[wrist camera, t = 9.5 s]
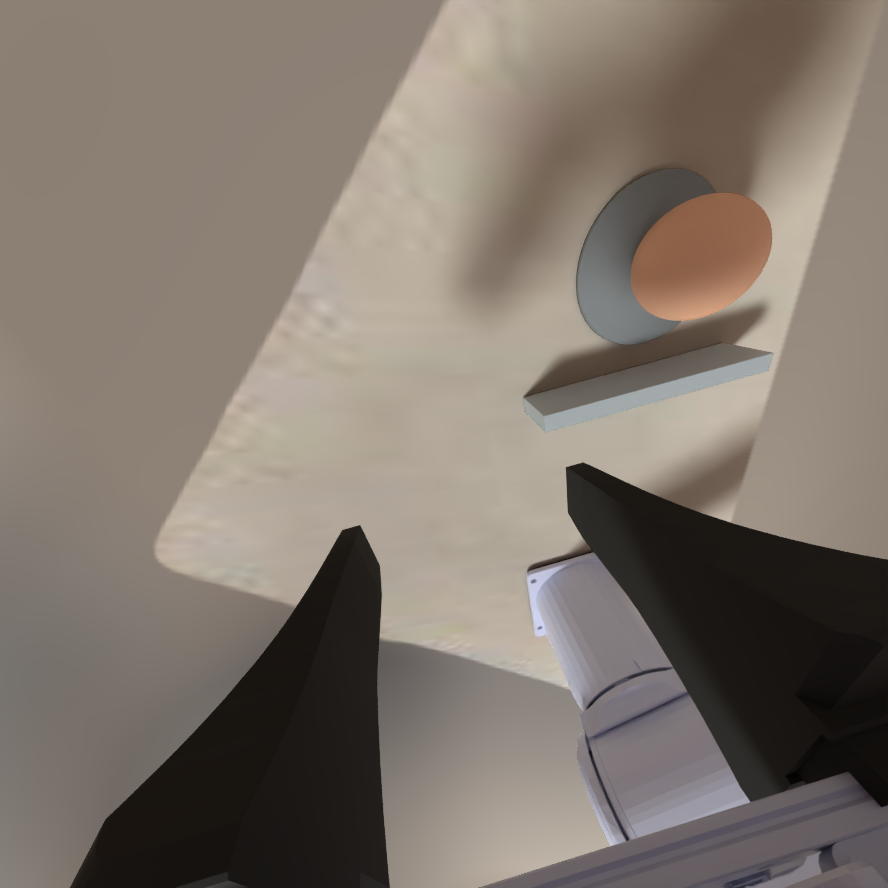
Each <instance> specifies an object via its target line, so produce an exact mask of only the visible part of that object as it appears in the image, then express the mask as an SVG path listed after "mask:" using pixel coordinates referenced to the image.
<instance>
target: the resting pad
mask: <svg viewBox="0 0 888 888" xmlns="http://www.w3.org/2000/svg"><path fill="white" fill-rule="evenodd" d="M712 193H716V192H715V190H714V189H713V187H712V186H711V185H710V184H709V183H708V181H707V180H706V179H704V178H703V177H701V176H700V175H699V174H697V173H694V172H692V171H690V170H685V169H676V168H670V169H664V170H659V171H656V172H653V173H650V174H647V175H645V176H643V177H641V178H639V179H637V180H635V181H633V182H632V183H630V184H629V185H628V186H626V187H625V188H623V189H622V190H621V191H620V192H619V193H618V194H616V195H615V196H614V197H613V198H612V199H611V201H610V202H609V203H608V204H607V205H606V206H605V207H604V209H603V210H602V211H601V213H600V214H599V215H598V217H597V219H596V220H595V222H594V224H593V225H592V227H591V229H590V231H589V233H588V235H587V237H586V239H585V242H584V245H583V248H582V250H581V254H580V258H579V262H578V268H577V275H576V291H577V299H578V304H579V307H580V310H581V313H582V315H583V317H584V319H585V321H586V322H587V324H588V325H589V327H590V328H591V329H592V330H593V331H594V332H595V333H596V334H598V335H599V336H601V337H602V338H604V339H606V340H609V341H612V342H615V343H619V344H639V343H644V342H647V341H650V340H653V339H655V338H657V337H659V336H661V335H663V334H665V333H666V332H668V331H670V330H671V329H672V328H674V327H675V326H676V325H678V324H679V323H680V322H681V321H673V320H666V319H662V318H659V317H657V316H654V315H652V314H650V313H649V312H648V311H646V310H645V309H644V308H643V307H642V306H641V305H640V304H639V303H638V301H637V300H636V298H635V296H634V293H633V291H632V287H631V281H630V273H631V266H632V261H633V258H634V255H635V253H636V250H637V248H638V246H639V244H640V243H641V241H642V239H643V238H644V236H645V235H646V234H647V232H648V231H649V230H650V229H651V228H652V226H653V225H654V224H655V223H656V222H657V221H658V220H659V219H660V218H662V217H663V216H664V215H665V214H666V213H668V212H669V211H671V210H672V209H674V208H675V207H677V206H679V205H680V204H682V203H684V202H686V201H688V200H691V199H693V198H696V197H699V196H702V195H707V194H712Z"/></svg>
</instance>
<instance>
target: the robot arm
mask: <svg viewBox="0 0 888 888" xmlns="http://www.w3.org/2000/svg"><path fill="white" fill-rule="evenodd" d="M566 479H567V503H568V513H569V515H570V517H571V519H572V520H573V522H574V524H575V526H576V527H577V529H578V531H579V532H580V534H581V536H582V537H583V539H584V540H585V541H586V543H587V544H588V545H589V547H590V548H591V549H592V551H593V552H592V553H589V554H585V555H582V556H579V557H575V558H572V559H568V560H565V561H561V562H558V563H554V564H551V565H547V566H544V567H540V568H537V569H534V570H530V571H529V572H527V574H526V578H527V585H528V592H529V599H530V606H531V612H532V619H533V626H534V632H535V635H536V636H538V637H540V636H544V635H547V637H548V639H549V641H550V644H551V646H552V648H553V651H554V653H555V655H556V657H557V660H558V662H559V664H560V667H561V669H562V671H563V673H564V676H565V678H566V680H567V682H568V685H569V687H570V689H571V692H572V694H573V696H574V698H575V700H576V702H577V703H578V705H579V706H580V708H581V709H582V710H583V713H581V714H579V715H578V716H579V719H580V722H581V724H582V726H583V729H584V731H585V732H584V733H581V734H580V735H579V736H578V748H577V760H578V765H579V769H580V773H581V776H582V779H583V783H584V786H585V788H586V791H587V794H588V797H589V799H590V802H591V805H592V807H593V809H594V812H595V814H596V816H597V819H598V821H599V823H600V825H601V828H602V830H603V832H604V834H605V836H606V838H607V840H608V842H609V844H610V847H607V848H603V849H600V850H597V851H594V852H591V853H588V854H584V855H581V856H578V857H575V858H572V859H569V860H565V861H562V862H559V863H556V864H553V865H550V866H546V867H543V868H540V869H537V870H533V871H531V872H527V873H524V874H521V875H518V876H514V877H511V878H508V879H505V880H502V881H498V882H496V883H492V884H489V885H486V886H483V887H479V888H888V560H887V559H880V558H875V557H869V556H864V555H859V554H854V553H849V552H844V551H840V550H835V549H830V548H826V547H821V546H816V545H812V544H808V543H804V542H799V541H795V540H791V539H787V538H783V537H779V536H776V535H772V534H768V533H764V532H761V531H757V530H754V529H749V528H746V527H743V526H740V525H736V524H733V523H730V522H727V521H724V520H721V519H718V518H715V517H712V516H709V515H705V514H702V513H700V512H697V511H694V510H691V509H688V508H686V507H683V506H681V505H678V504H676V503H673V502H670V501H668V500H665V499H663V498H660V497H658V496H656V495H653V494H651V493H649V492H646V491H644V490H642V489H640V488H637V487H635V486H633V485H631V484H629V483H626V482H624V481H622V480H620V479H618V478H616V477H614V476H611V475H609V474H607V473H605V472H603V471H601V470H599V469H597V468H594V467H592V466H590V465H588V464H585V463H580V464H576V465H573V466H569V467H566ZM381 599H382V592H381V575H380V565H379V563H378V561H377V559H376V557H375V555H374V553H373V551H372V549H371V547H370V544H369V542H368V540H367V538H366V536H365V534H364V532H363V530H362V528H361V526H360V525H359V526H355V527H352V528H348V529H345V530H342V532H341V534H340V535H339V537H338V539H337V540H336V542H335V544H334V545H333V547H332V549H331V551H330V552H329V554H328V556H327V558H326V559H325V561H324V563H323V565H322V566H321V568H320V570H319V571H318V573H317V575H316V576H315V578H314V580H313V581H312V583H311V585H310V586H309V588H308V590H307V591H306V593H305V594H304V596H303V597H302V599H301V600H300V602H299V604H298V605H297V607H296V608H295V610H294V611H293V613H292V614H291V616H290V617H289V619H288V620H287V622H286V623H285V624H284V626H283V627H282V629H281V630H280V631H279V633H278V634H277V636H276V637H275V638H274V639H273V641H272V642H271V643H270V645H269V646H268V647H267V648H266V650H265V651H264V652H263V654H262V655H261V656H260V658H259V659H258V660H257V661H256V663H255V664H254V665H253V666H252V667H251V668H250V670H249V671H248V672H247V673H246V674H245V675H244V677H243V678H242V679H241V680H240V681H239V682H238V684H237V685H236V686H235V687H234V688H233V690H232V691H231V692H230V693H229V694H228V695H227V697H226V698H225V699H224V700H223V701H222V702H221V703H220V705H219V706H218V707H217V708H216V709H215V710H214V711H213V712H212V713H211V714H210V716H209V717H208V718H207V719H206V720H205V721H204V722H203V723H202V724H201V725H200V726H199V727H198V729H196V731H195V732H194V733H193V734H192V735H191V736H190V737H189V738H188V739H187V740H186V741H185V742H184V743H183V744H182V745H181V746H180V747H179V748H178V749H177V750H176V751H175V752H174V753H173V754H172V755H171V756H170V757H169V759H167V760H166V761H165V762H164V763H163V764H162V765H161V766H160V767H159V768H158V769H157V770H156V771H155V772H154V773H153V774H152V775H151V776H150V777H149V778H148V779H147V780H146V781H145V782H144V783H143V784H142V785H141V786H140V787H139V788H138V789H137V790H136V791H135V792H134V793H133V794H132V795H131V796H130V797H128V799H126V801H124V802H123V803H122V804H121V805H120V806H119V807H118V808H117V809H116V810H115V811H114V812H113V813H112V814H111V815H110V816H109V817H108V818H107V819H106V820H105V822H104V823H103V825H102V827H101V829H100V831H99V833H98V835H97V837H96V839H95V841H94V842H93V844H92V846H91V848H90V850H89V852H88V854H87V856H86V858H85V860H84V862H83V864H82V866H81V868H80V869H79V871H78V873H77V875H76V877H75V879H74V881H73V883H72V885H71V887H70V888H390V886H389V875H388V864H387V852H386V839H385V827H384V815H383V800H382V784H381V768H380V750H379V727H378V697H377V669H378V651H379V635H380V618H381Z"/></svg>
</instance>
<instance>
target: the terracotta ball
mask: <svg viewBox="0 0 888 888" xmlns="http://www.w3.org/2000/svg"><path fill="white" fill-rule="evenodd" d="M771 245H772V229H771V224H770V221H769V218H768V217H767V215H766V213H765V211H764V210H763V209H762V208H761V207H760V206H759V205H758V204H757V203H756V202H754V201H753V200H751V199H749V198H747V197H745V196H742V195H739V194H734V193H712V194H707V195H702V196H699V197H696V198H693V199H691V200H688V201H686V202H684V203H682V204H680V205H679V206H677V207H675V208H674V209H672V210H671V211H669V212H668V213H666V214H665V215H664V216H663V217H662V218H660V219H659V220H658V221H657V222H656V223H655V224H654V225H653V226H652V228H651V229H650V230H649V231H648V232H647V234H646V235H645V236H644V238H643V239H642V241H641V243H640V244H639V246H638V248H637V250H636V253H635V255H634V258H633V261H632V266H631V273H630V281H631V287H632V291H633V293H634V296H635V298H636V300H637V301H638V303H639V304H640V305H641V306H642V307H643V308H644V309H645V310H646V311H648V312H649V313H650V314H652V315H654V316H657V317H659V318H662V319H666V320H673V321H685V320H693V319H698V318H701V317H705V316H708V315H710V314H713V313H715V312H717V311H719V310H721V309H723V308H725V307H726V306H728V305H729V304H731V303H733V302H734V301H735V300H737V299H738V298H739V297H740V296H741V295H743V294H744V293H745V292H746V291H747V290H748V289H749V288H750V287H751V285H752V284H753V283H754V282H755V280H756V279H757V278H758V276H759V275H760V273H761V272H762V270H763V268H764V266H765V264H766V262H767V260H768V257H769V254H770V250H771Z"/></svg>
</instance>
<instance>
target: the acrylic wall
mask: <svg viewBox="0 0 888 888" xmlns="http://www.w3.org/2000/svg"><path fill="white" fill-rule="evenodd" d="M773 354H774V353H771V352H766V351H761V350H756V349H751V348H746V347H742V346H737V345H732V344H727V343H720V344H716V345H713V346H709V347H706V348H702V349H698V350H695V351H691V352H687V353H684V354H680V355H676V356H673V357H669V358H665V359H662V360H658V361H654V362H651V363H647V364H643V365H640V366H636V367H632V368H629V369H625V370H621V371H618V372H614V373H611V374H607V375H603V376H600V377H596V378H592V379H589V380H585V381H581V382H578V383H574V384H570V385H567V386H563V387H559V388H556V389H552V390H548V391H545V392H541V393H537V394H534V395H530V396H527V397H523V399H524V409H525V413H526V414H527V415H528V416H529V417H530V418H531V419H532V420H533V421H534V422H535V423H536V424H537V425H538V426H539V427H540V428H541V429H542V430H543V431H544V432H545V433H546V432H549V431H553V430H557V429H560V428H564V427H567V426H571V425H575V424H578V423H582V422H586V421H589V420H593V419H596V418H600V417H604V416H607V415H611V414H614V413H618V412H622V411H625V410H629V409H632V408H636V407H640V406H643V405H647V404H650V403H654V402H658V401H661V400H665V399H668V398H672V397H676V396H679V395H683V394H686V393H690V392H694V391H697V390H701V389H705V388H708V387H712V386H715V385H719V384H723V383H726V382H730V381H733V380H737V379H741V378H744V377H748V376H751V375H755V374H759V373H762V372H766V371H769V368H770V364H771V361H772V357H773Z"/></svg>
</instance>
